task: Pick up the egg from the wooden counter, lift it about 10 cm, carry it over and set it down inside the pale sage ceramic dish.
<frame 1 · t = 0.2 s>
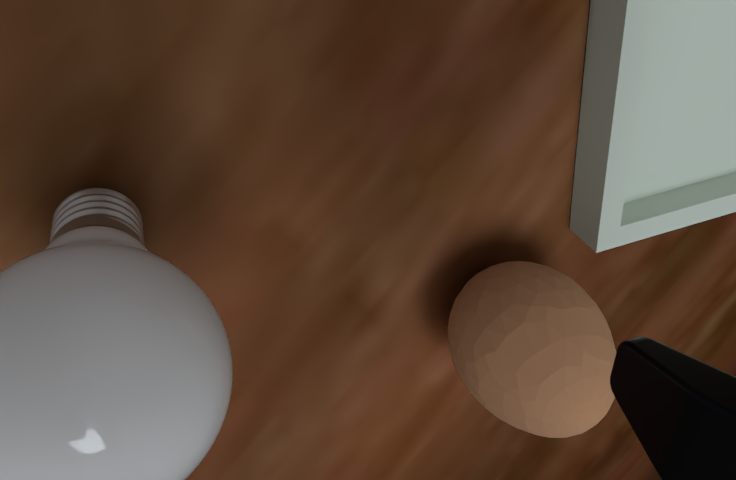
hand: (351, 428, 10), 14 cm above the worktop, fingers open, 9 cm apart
lightbulb: (98, 211, 22), on the worktop
dish: (712, 67, 27), on the worktop
egg: (483, 285, 29), on the worktop
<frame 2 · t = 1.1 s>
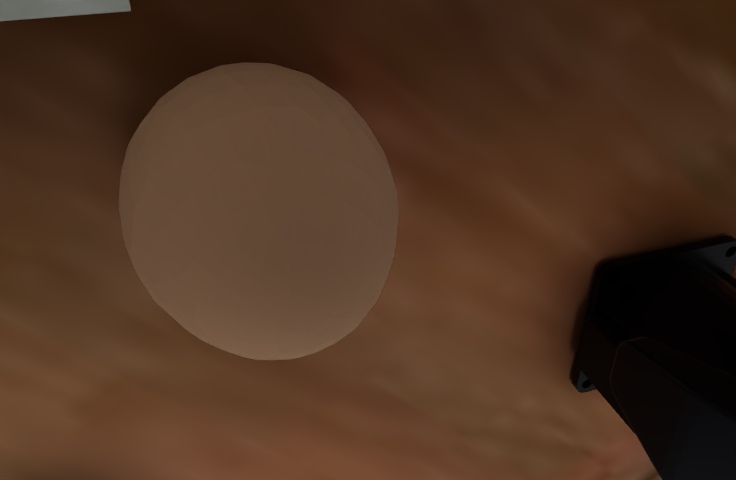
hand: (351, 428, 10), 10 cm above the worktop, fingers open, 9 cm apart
egg: (234, 136, 18), on the worktop
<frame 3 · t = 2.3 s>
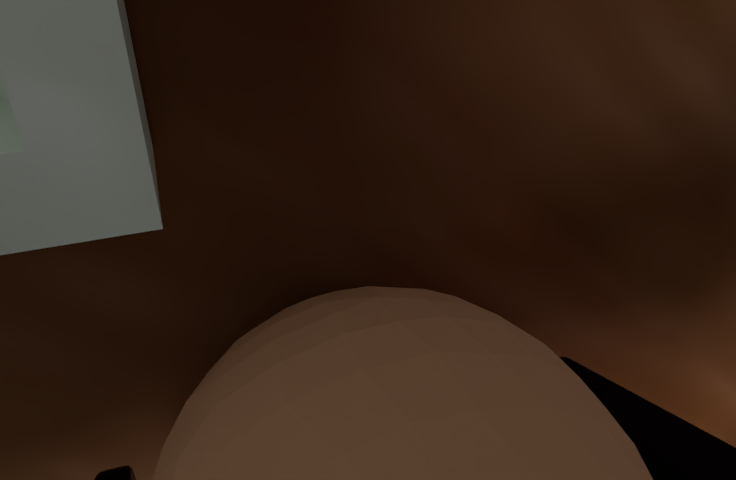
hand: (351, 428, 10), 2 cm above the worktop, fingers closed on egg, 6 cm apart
egg: (319, 346, 11), on the worktop, touching gripper
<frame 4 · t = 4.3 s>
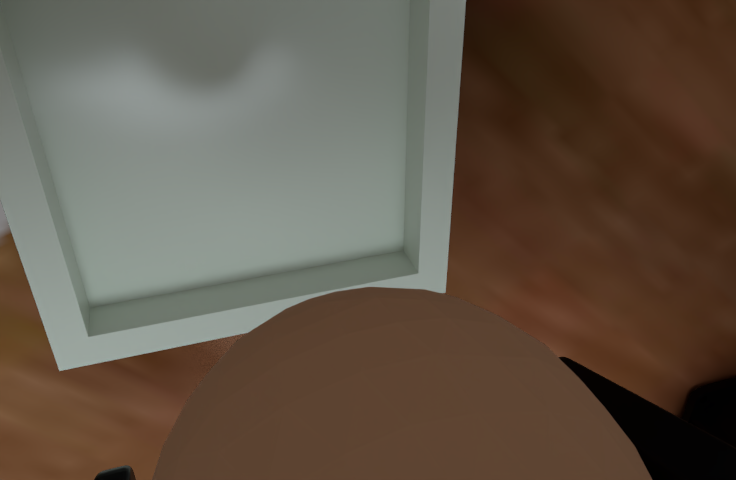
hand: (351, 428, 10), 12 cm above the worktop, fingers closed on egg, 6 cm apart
dish: (235, 123, 19), on the worktop
egg: (320, 346, 11), point 10 cm above the worktop, touching gripper
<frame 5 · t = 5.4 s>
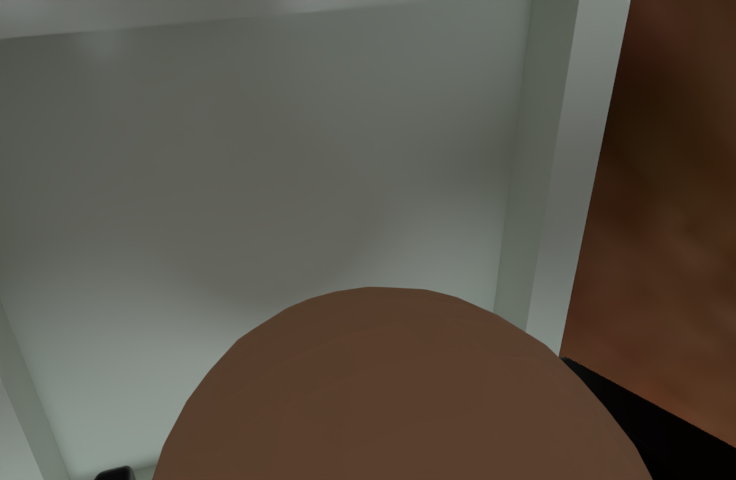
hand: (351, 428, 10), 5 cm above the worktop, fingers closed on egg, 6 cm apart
dish: (273, 240, 14), on the worktop
egg: (320, 346, 11), point 3 cm above the worktop, touching gripper
when the fingers open (4 cm above the worktop, at t = 6.2 s): egg drops 1 cm, resting on dish.
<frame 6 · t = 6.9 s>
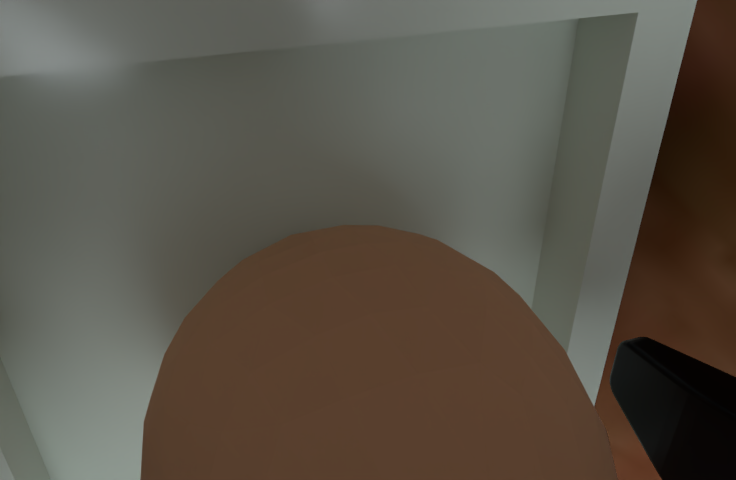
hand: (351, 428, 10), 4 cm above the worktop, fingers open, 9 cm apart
dish: (292, 279, 13), on the worktop
egg: (303, 292, 12), resting on dish
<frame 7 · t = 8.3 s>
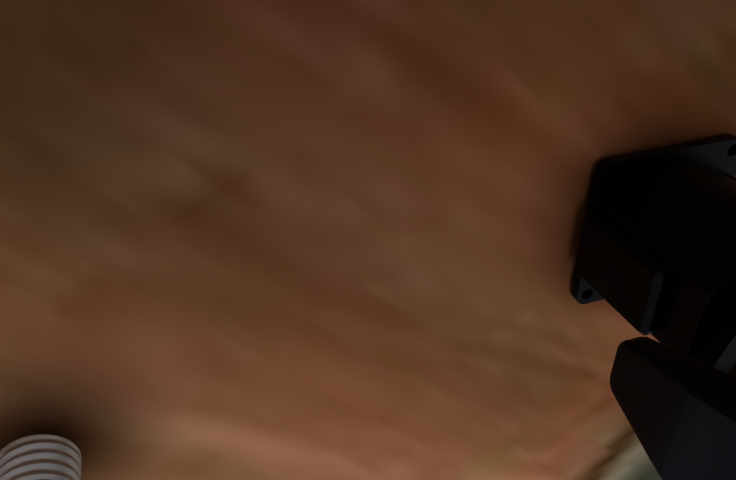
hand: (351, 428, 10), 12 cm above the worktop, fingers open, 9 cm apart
lightbulb: (40, 443, 23), on the worktop
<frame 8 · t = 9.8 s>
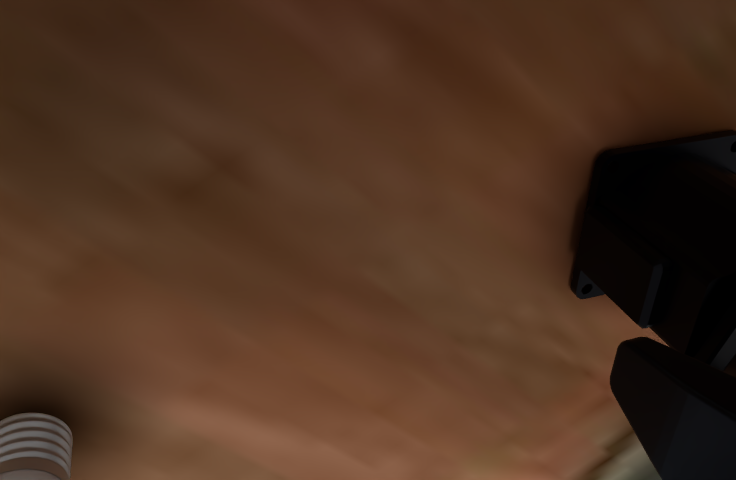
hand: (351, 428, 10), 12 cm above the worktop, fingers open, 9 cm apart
lightbulb: (31, 423, 23), on the worktop
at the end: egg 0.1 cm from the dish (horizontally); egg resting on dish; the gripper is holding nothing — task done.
